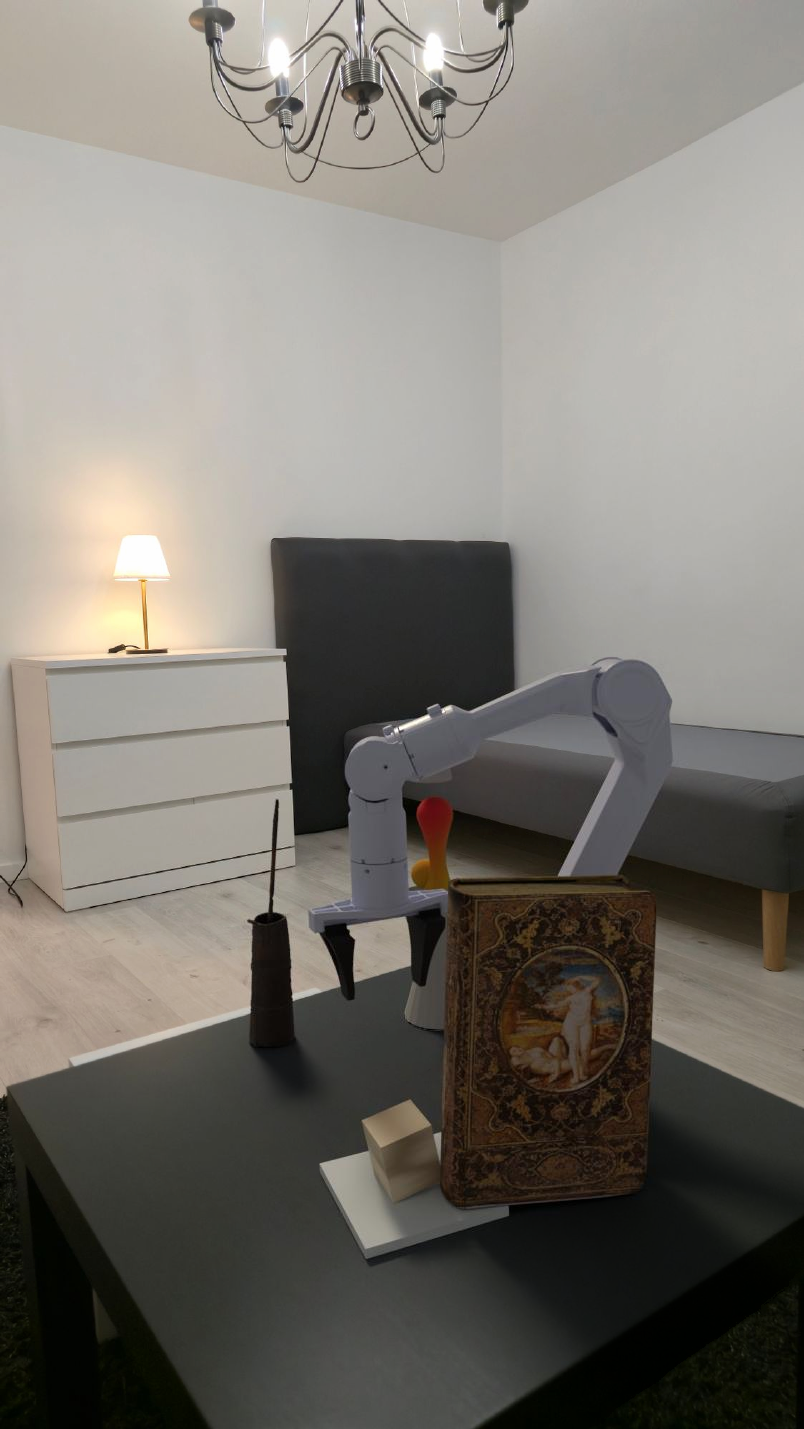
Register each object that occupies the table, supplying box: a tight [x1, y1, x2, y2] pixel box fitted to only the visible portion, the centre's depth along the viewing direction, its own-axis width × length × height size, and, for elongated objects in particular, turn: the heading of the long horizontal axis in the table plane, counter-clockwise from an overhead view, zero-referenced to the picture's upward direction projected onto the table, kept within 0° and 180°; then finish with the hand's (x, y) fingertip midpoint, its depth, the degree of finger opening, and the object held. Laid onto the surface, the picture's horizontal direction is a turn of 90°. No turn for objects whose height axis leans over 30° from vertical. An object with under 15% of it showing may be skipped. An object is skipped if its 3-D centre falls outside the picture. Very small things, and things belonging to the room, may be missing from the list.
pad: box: [319, 1131, 510, 1260], centre depth 75 cm, size 12×12×1 cm
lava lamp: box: [403, 768, 454, 1029], centre depth 108 cm, size 9×9×35 cm
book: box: [440, 874, 657, 1209], centre depth 74 cm, size 16×6×25 cm, turn 100°
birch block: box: [361, 1099, 441, 1204], centre depth 75 cm, size 4×4×5 cm
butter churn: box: [246, 798, 296, 1048], centre depth 103 cm, size 9×10×28 cm
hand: (384, 989), depth 92 cm, fingers open, 7 cm apart
